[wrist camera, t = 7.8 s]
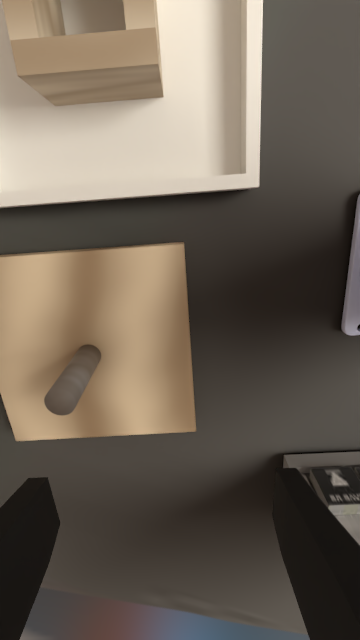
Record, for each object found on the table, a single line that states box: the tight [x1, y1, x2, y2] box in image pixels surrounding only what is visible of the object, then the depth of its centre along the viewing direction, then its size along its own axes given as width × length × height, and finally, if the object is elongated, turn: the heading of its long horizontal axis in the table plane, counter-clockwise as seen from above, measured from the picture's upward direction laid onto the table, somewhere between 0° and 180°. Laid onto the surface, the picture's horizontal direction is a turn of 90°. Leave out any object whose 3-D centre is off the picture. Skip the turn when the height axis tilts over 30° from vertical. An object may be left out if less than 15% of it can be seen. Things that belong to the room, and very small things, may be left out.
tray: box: [0, 0, 263, 208], centre depth 12 cm, size 13×13×2 cm
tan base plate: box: [0, 242, 196, 441], centre depth 16 cm, size 12×12×6 cm
